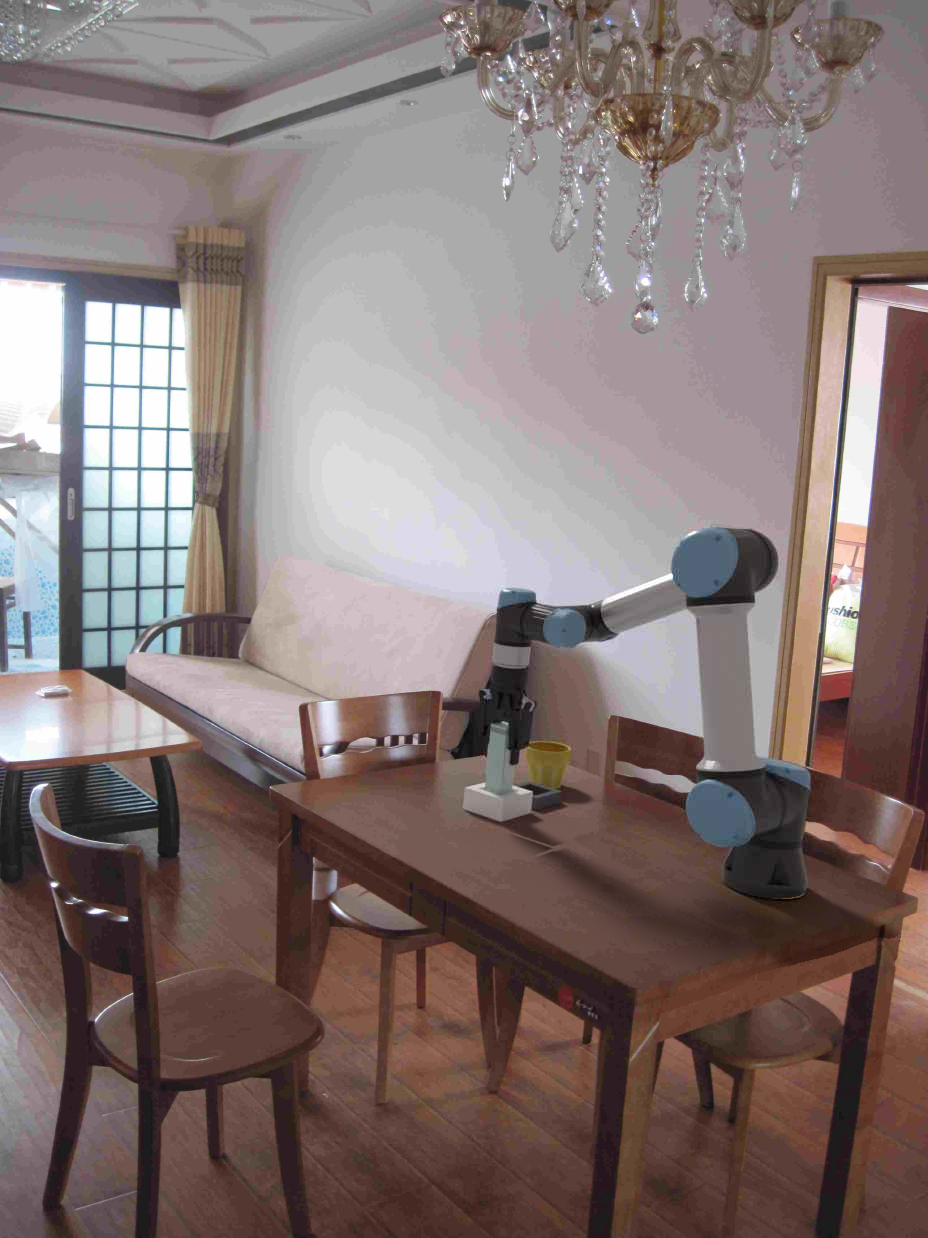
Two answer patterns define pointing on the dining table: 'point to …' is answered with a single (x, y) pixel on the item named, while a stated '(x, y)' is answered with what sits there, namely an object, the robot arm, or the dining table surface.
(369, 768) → the dining table surface
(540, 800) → the dark grey square tray
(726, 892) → the dining table surface
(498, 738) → the plug
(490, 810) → the box
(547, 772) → the plant pot
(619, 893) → the dining table surface
